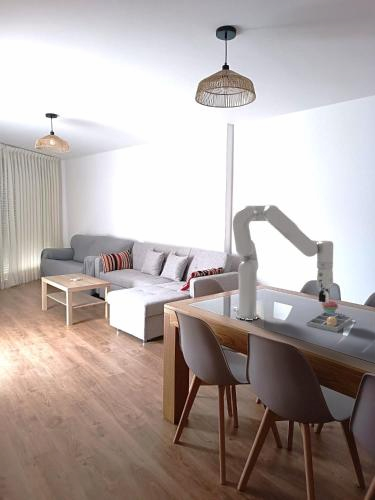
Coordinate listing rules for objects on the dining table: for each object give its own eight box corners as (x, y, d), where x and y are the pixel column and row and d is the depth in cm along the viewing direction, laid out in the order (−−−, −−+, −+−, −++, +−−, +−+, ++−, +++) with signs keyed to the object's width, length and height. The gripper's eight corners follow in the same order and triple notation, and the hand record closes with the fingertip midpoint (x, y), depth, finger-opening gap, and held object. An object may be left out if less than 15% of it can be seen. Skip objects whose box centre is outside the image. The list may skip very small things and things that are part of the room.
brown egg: (325, 328, 178) (325, 316, 177) (328, 326, 181) (328, 314, 180) (334, 330, 175) (334, 318, 174) (337, 328, 178) (338, 316, 177)
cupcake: (327, 316, 198) (328, 294, 197) (318, 312, 206) (318, 291, 205) (341, 315, 200) (341, 293, 199) (331, 311, 209) (331, 290, 207)
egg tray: (306, 326, 182) (306, 321, 182) (323, 316, 198) (323, 311, 198) (336, 333, 172) (336, 327, 172) (352, 321, 189) (352, 317, 188)
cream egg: (318, 301, 186) (318, 290, 186) (321, 300, 189) (321, 289, 189) (326, 303, 183) (327, 291, 183) (330, 301, 186) (330, 290, 186)
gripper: (325, 268, 175) (324, 305, 178) (338, 263, 188) (337, 298, 190) (310, 266, 180) (310, 303, 183) (324, 262, 193) (323, 296, 195)
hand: (324, 300), depth 186 cm, fingers closed on cream egg, 4 cm apart
